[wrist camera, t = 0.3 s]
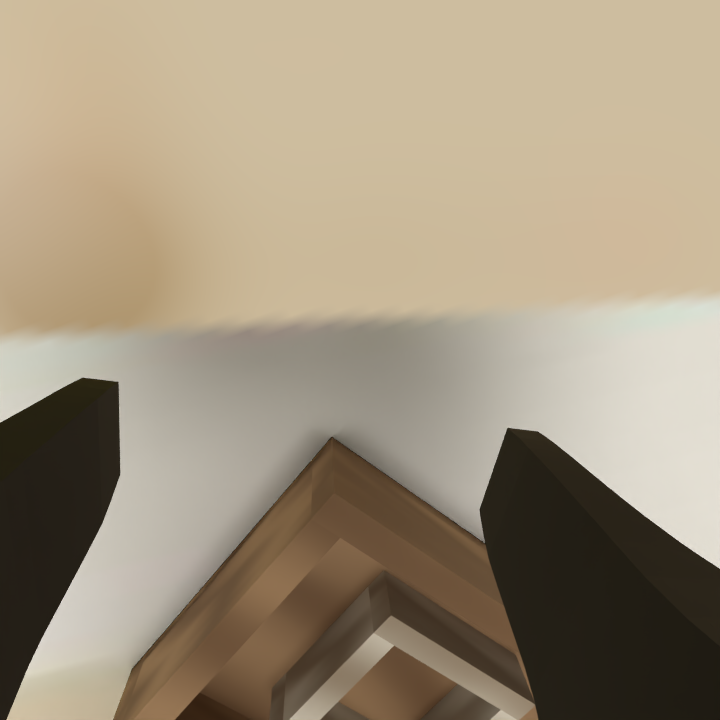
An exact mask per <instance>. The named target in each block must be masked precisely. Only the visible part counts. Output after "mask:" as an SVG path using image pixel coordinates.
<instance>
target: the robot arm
mask: <svg viewBox="0 0 720 720" xmlns="http://www.w3.org/2000/svg"><path fill="white" fill-rule="evenodd" d="M119 476H120V438H119V385H118V382H114V381H106V380H97V379H89V378H81V379H79V380H77V381H75V382H73V383H71V384H69V385H67V386H65V387H63V388H62V389H60V390H58V391H56V392H54V393H53V394H51V395H49V396H47V397H46V398H44V399H42V400H40V401H39V402H37V403H35V404H33V405H31V406H30V407H28V408H26V409H24V410H22V411H21V412H19V413H17V414H15V415H13V416H12V417H10V418H8V419H6V420H4V421H3V422H1V423H0V720H6V719H7V717H8V714H9V712H10V709H11V707H12V705H13V702H14V700H15V697H16V695H17V692H18V690H19V688H20V685H21V683H22V680H23V678H24V675H25V673H26V671H27V668H28V666H29V664H30V662H31V660H32V657H33V655H34V653H35V651H36V649H37V647H38V645H39V643H40V641H41V639H42V637H43V635H44V633H45V631H46V629H47V627H48V625H49V624H50V622H51V620H52V618H53V616H54V614H55V612H56V610H57V609H58V607H59V605H60V603H61V601H62V599H63V597H64V595H65V593H66V592H67V590H68V588H69V586H70V584H71V582H72V580H73V578H74V577H75V575H76V573H77V571H78V569H79V567H80V565H81V563H82V561H83V560H84V558H85V556H86V554H87V552H88V550H89V548H90V546H91V544H92V542H93V540H94V538H95V537H96V535H97V533H98V531H99V529H100V527H101V525H102V523H103V520H104V517H105V515H106V512H107V510H108V507H109V504H110V502H111V499H112V496H113V493H114V490H115V488H116V485H117V482H118V479H119ZM480 516H481V522H482V528H483V534H484V539H485V544H486V549H487V554H488V559H489V562H490V565H491V568H492V571H493V574H494V577H495V581H496V584H497V587H498V590H499V593H500V596H501V599H502V602H503V605H504V608H505V611H506V614H507V617H508V620H509V623H510V626H511V629H512V631H513V634H514V637H515V640H516V643H517V646H518V649H519V652H520V655H521V658H522V661H523V664H524V667H525V670H526V674H527V677H528V681H529V684H530V687H531V691H532V694H533V698H534V702H535V707H536V711H537V716H538V720H720V569H719V568H718V567H716V566H715V565H713V564H712V563H710V562H708V561H707V560H705V559H704V558H702V557H701V556H699V555H698V554H696V553H695V552H693V551H692V550H690V549H689V548H688V547H686V546H685V545H683V544H682V543H680V542H679V541H678V540H676V539H675V538H673V537H672V536H671V535H669V534H668V533H667V532H665V531H664V530H663V529H661V528H660V527H659V526H657V525H656V524H655V523H653V522H652V521H650V520H649V519H648V518H646V517H645V516H644V515H642V514H641V513H640V512H639V511H637V510H636V509H635V508H634V507H632V506H631V505H630V504H628V503H627V502H626V501H625V500H623V499H622V498H621V497H620V496H618V495H617V494H616V493H615V492H613V491H612V490H611V489H610V488H608V487H607V486H606V485H605V484H604V483H602V482H601V481H600V480H599V479H598V478H596V477H595V476H594V475H593V474H591V473H590V472H589V471H588V470H587V469H585V468H584V467H583V466H582V465H581V464H579V463H578V462H577V461H576V460H575V459H573V458H572V457H571V456H570V455H568V454H567V453H566V452H565V451H563V450H562V449H561V448H560V447H558V446H557V445H556V444H555V443H553V442H552V441H551V440H549V439H548V438H547V437H545V436H544V435H542V434H541V433H539V432H537V431H528V430H520V429H512V428H507V431H506V434H505V437H504V440H503V443H502V446H501V449H500V452H499V455H498V457H497V460H496V463H495V466H494V469H493V472H492V475H491V478H490V481H489V484H488V487H487V490H486V492H485V495H484V498H483V501H482V504H481V507H480Z"/></svg>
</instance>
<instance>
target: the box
mask: <svg viewBox="0 0 720 720" xmlns="http://www.w3.org/2000/svg"><path fill="white" fill-rule="evenodd" d="M113 720H538V716H537V711H536V707H535V702H534V698H533V694H532V691H531V687H530V684H529V681H528V677H527V674H526V670H525V667H524V664H523V661H522V658H521V655H520V652H519V649H518V646H517V643H516V640H515V637H514V634H513V631H512V629H511V626H510V623H509V620H508V617H507V614H506V611H505V608H504V605H503V602H502V599H501V596H500V593H499V590H498V587H497V584H496V581H495V577H494V574H493V571H492V568H491V565H490V562H489V559H488V554H487V549H486V544H485V543H483V542H482V541H480V540H479V539H477V538H476V537H475V536H473V535H472V534H470V533H469V532H467V531H466V530H465V529H463V528H462V527H460V526H459V525H457V524H456V523H455V522H453V521H452V520H450V519H449V518H447V517H446V516H444V515H443V514H442V513H440V512H439V511H437V510H436V509H434V508H433V507H432V506H430V505H429V504H427V503H426V502H424V501H423V500H422V499H420V498H419V497H417V496H416V495H414V494H413V493H412V492H410V491H409V490H407V489H406V488H404V487H403V486H401V485H400V484H399V483H397V482H396V481H394V480H393V479H391V478H390V477H389V476H387V475H386V474H384V473H383V472H381V471H380V470H379V469H377V468H376V467H374V466H373V465H371V464H370V463H368V462H367V461H366V460H364V459H363V458H361V457H360V456H358V455H357V454H356V453H354V452H353V451H351V450H350V449H348V448H347V447H346V446H344V445H343V444H341V443H340V442H338V441H337V440H335V439H334V438H333V437H331V438H330V440H329V441H328V442H327V443H326V444H325V445H324V447H323V448H322V449H321V450H320V451H319V452H318V454H317V455H316V456H315V457H314V458H313V459H312V461H311V462H310V463H309V464H308V465H307V466H306V468H305V469H304V470H303V471H302V472H301V473H300V475H299V476H298V477H297V478H296V479H295V480H294V481H293V483H292V484H291V485H290V486H289V487H288V488H287V490H286V491H285V492H284V493H283V494H282V495H281V497H280V498H279V499H278V500H277V501H276V502H275V504H274V505H273V506H272V507H271V508H270V509H269V511H268V512H267V513H266V514H265V515H264V516H263V518H262V519H261V520H260V521H259V522H258V523H257V525H256V526H255V527H254V528H253V529H252V530H251V532H250V533H249V534H248V535H247V536H246V537H245V539H244V540H243V541H242V542H241V543H240V544H239V545H238V547H237V548H236V549H235V550H234V551H233V552H232V554H231V555H230V556H229V557H228V558H227V559H226V561H225V562H224V563H223V564H222V565H221V566H220V568H219V569H218V570H217V571H216V572H215V573H214V575H213V576H212V577H211V578H210V579H209V580H208V582H207V583H206V584H205V585H204V586H203V587H202V589H201V590H200V591H199V592H198V593H197V594H196V596H195V597H194V598H193V599H192V600H191V601H190V602H189V604H188V605H187V606H186V607H185V608H184V609H183V611H182V612H181V613H180V614H179V615H178V616H177V618H176V619H175V620H174V621H173V622H172V623H171V625H170V626H169V627H168V628H167V629H166V630H165V632H164V633H163V634H162V635H161V636H160V637H159V639H158V640H157V641H156V642H155V643H154V644H153V646H152V647H151V648H150V649H149V650H148V651H147V653H146V654H145V655H144V656H143V657H142V658H141V660H140V661H139V662H138V663H137V664H136V665H135V666H134V668H133V669H132V670H131V673H130V676H129V679H128V681H127V684H126V687H125V689H124V692H123V695H122V697H121V700H120V703H119V705H118V708H117V711H116V713H115V716H114V719H113Z"/></svg>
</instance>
